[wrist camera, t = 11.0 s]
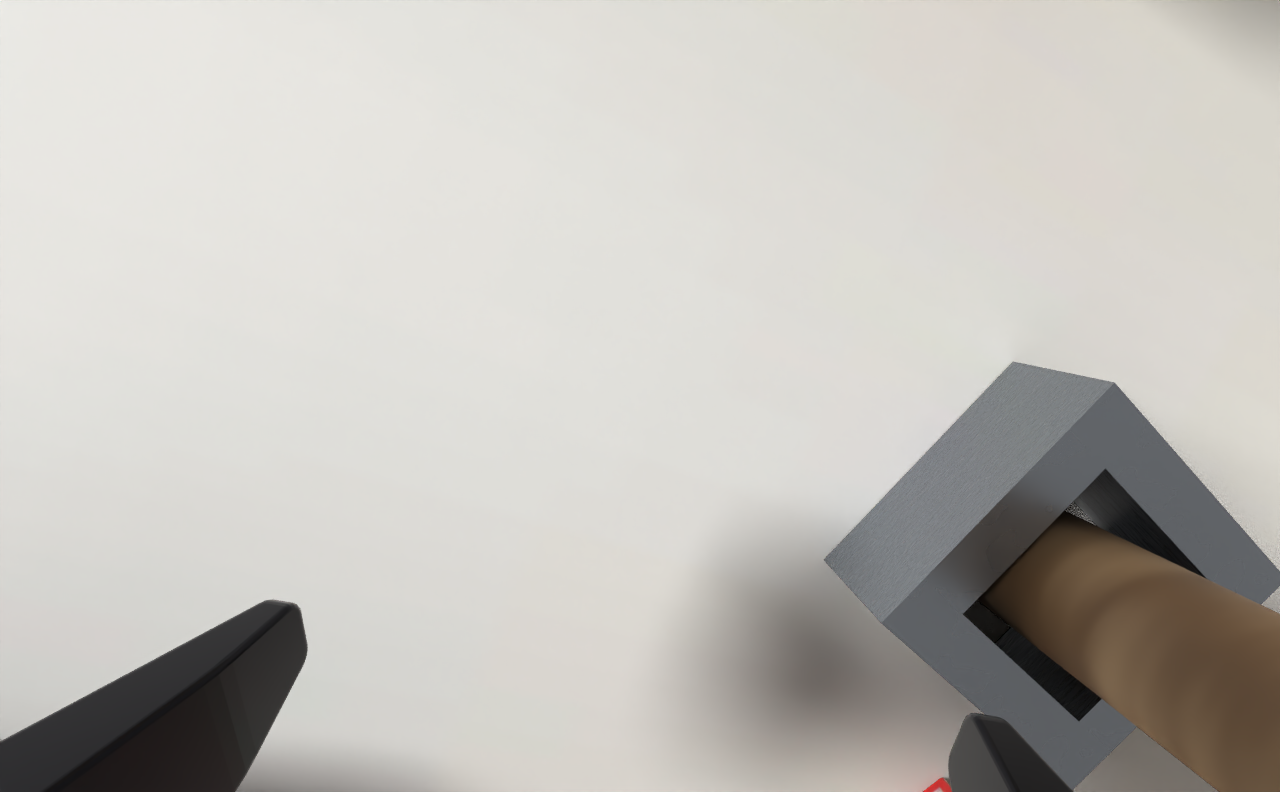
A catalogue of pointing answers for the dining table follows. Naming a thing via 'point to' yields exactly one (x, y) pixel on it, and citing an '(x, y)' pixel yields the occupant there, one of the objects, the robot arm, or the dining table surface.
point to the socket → (1011, 521)
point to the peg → (1154, 647)
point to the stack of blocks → (939, 786)
